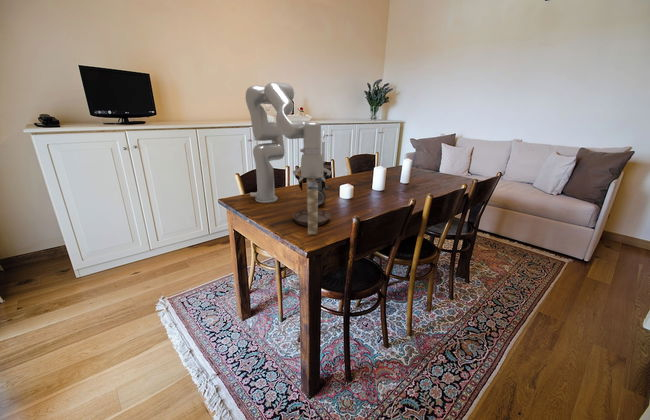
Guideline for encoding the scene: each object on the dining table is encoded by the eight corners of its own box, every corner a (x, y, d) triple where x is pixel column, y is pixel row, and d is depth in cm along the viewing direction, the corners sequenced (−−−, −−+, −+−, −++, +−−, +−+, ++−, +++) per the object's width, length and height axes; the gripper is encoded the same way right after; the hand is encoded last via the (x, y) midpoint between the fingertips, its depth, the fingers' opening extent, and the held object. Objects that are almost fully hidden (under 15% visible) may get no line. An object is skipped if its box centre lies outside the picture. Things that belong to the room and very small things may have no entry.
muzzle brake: (324, 192, 177) (325, 176, 173) (325, 208, 151) (325, 189, 147) (309, 192, 177) (309, 176, 173) (307, 207, 150) (307, 189, 147)
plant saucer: (302, 212, 145) (302, 206, 144) (335, 217, 139) (335, 211, 138) (286, 224, 129) (286, 218, 128) (321, 231, 123) (321, 224, 122)
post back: (307, 214, 141) (307, 173, 134) (306, 208, 149) (306, 169, 142) (315, 214, 141) (315, 173, 134) (314, 208, 149) (314, 169, 142)
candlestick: (329, 185, 193) (331, 133, 180) (331, 190, 183) (333, 134, 170) (314, 185, 192) (314, 132, 180) (314, 190, 182) (315, 134, 170)
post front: (307, 234, 119) (308, 187, 112) (307, 226, 127) (307, 181, 120) (317, 234, 120) (318, 187, 112) (316, 226, 127) (317, 181, 120)
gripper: (292, 152, 119) (292, 191, 125) (332, 153, 120) (331, 191, 126) (292, 150, 126) (293, 187, 132) (330, 150, 127) (330, 187, 133)
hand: (312, 189), depth 129 cm, fingers open, 9 cm apart
